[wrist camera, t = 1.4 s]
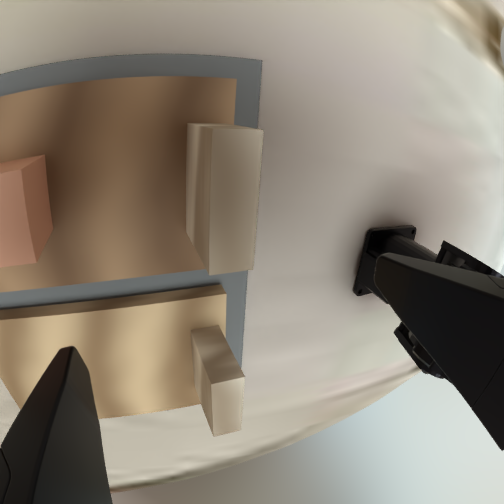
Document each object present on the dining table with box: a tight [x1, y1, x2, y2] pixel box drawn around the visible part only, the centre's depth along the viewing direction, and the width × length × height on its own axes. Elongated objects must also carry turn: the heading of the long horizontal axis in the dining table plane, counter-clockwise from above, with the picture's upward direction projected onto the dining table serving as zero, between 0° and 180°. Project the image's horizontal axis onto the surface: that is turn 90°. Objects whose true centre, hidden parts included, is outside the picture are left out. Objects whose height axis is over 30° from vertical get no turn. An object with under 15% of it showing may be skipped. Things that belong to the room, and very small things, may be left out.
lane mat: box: [0, 54, 262, 368], centre depth 18 cm, size 20×27×1 cm
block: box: [0, 155, 53, 267], centre depth 11 cm, size 4×4×4 cm
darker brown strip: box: [0, 76, 264, 292], centre depth 12 cm, size 18×11×6 cm, turn 86°
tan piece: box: [0, 284, 245, 437], centre depth 18 cm, size 18×11×6 cm, turn 86°
